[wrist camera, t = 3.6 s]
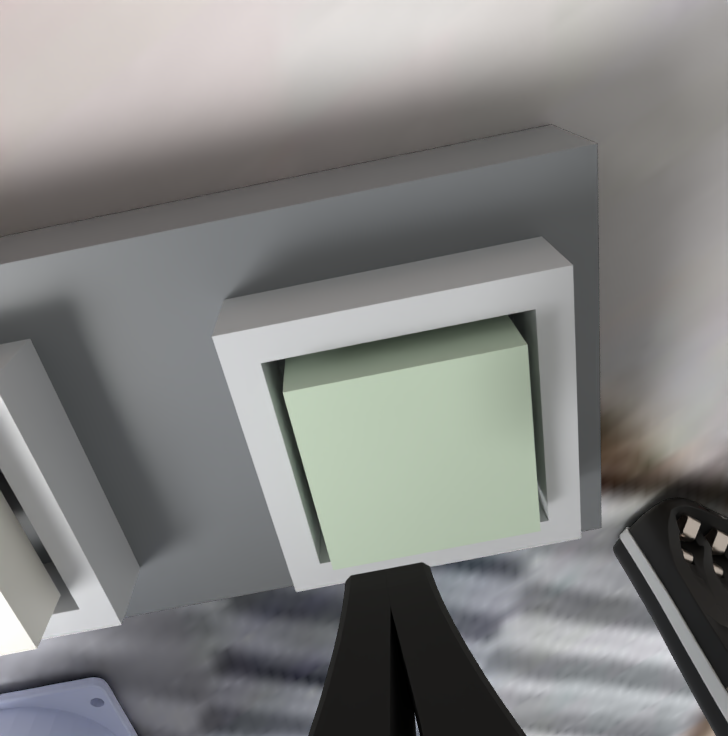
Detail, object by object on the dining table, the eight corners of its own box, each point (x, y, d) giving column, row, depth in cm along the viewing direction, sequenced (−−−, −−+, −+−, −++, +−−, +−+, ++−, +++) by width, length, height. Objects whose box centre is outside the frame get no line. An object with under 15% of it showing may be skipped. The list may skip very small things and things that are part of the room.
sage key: (521, 488, 17) (540, 531, 15) (331, 524, 17) (332, 570, 15) (506, 313, 14) (527, 344, 13) (285, 356, 14) (282, 392, 13)
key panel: (565, 466, 22) (631, 579, 17) (-69, 587, 22) (-163, 727, 18) (551, 124, 16) (639, 160, 12) (-276, 292, 17) (-483, 387, 13)
